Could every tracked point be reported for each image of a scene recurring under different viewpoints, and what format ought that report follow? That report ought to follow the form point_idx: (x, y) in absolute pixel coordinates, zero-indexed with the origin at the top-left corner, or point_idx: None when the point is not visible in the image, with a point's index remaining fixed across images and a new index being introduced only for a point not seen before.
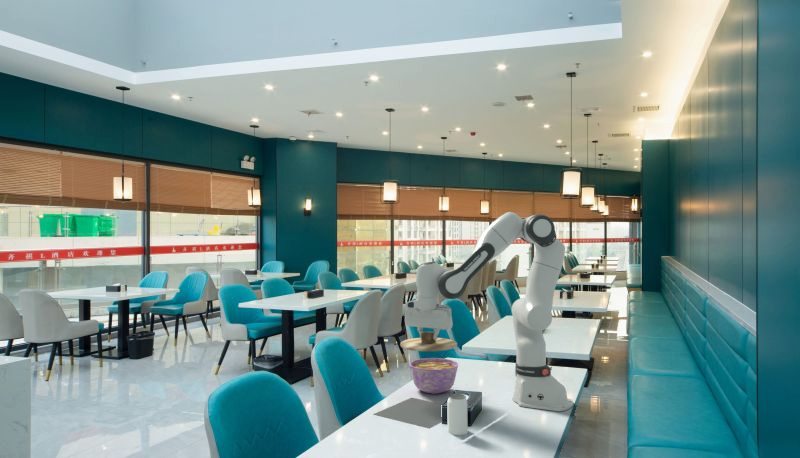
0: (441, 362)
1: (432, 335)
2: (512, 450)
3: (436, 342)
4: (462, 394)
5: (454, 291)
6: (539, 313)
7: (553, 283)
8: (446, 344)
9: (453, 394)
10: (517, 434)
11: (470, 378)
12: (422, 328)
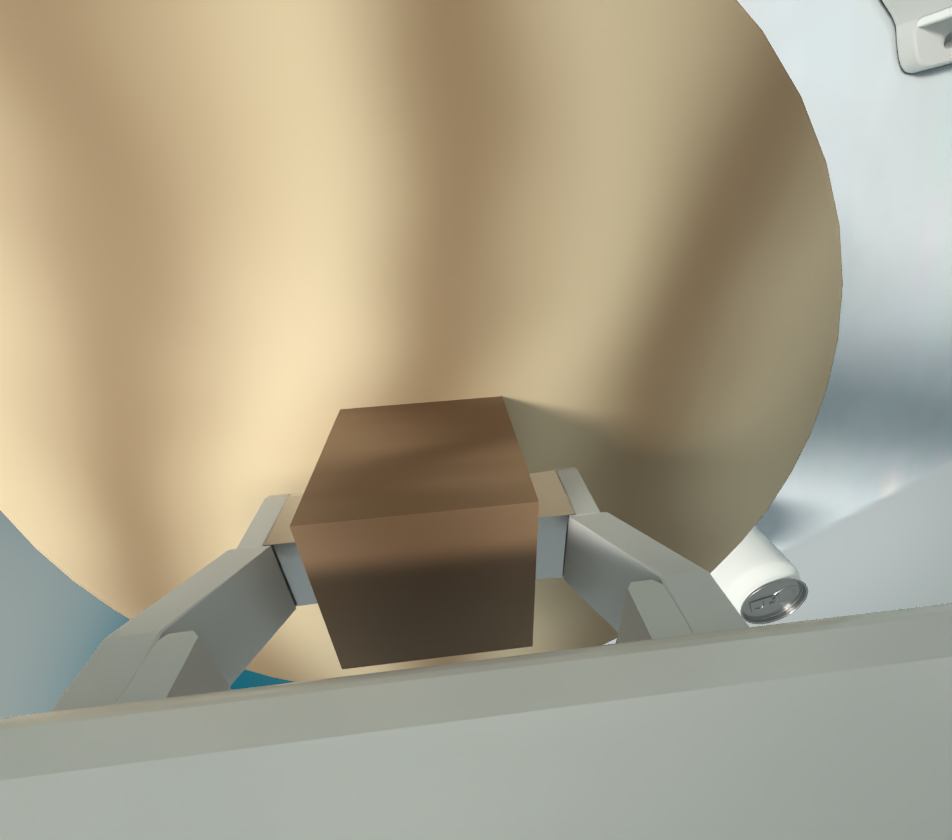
0: None
1: (539, 574)
2: (854, 507)
3: (504, 377)
4: (790, 580)
5: None
6: None
7: None
8: (697, 403)
9: (753, 593)
10: (870, 413)
11: None
12: (201, 663)
